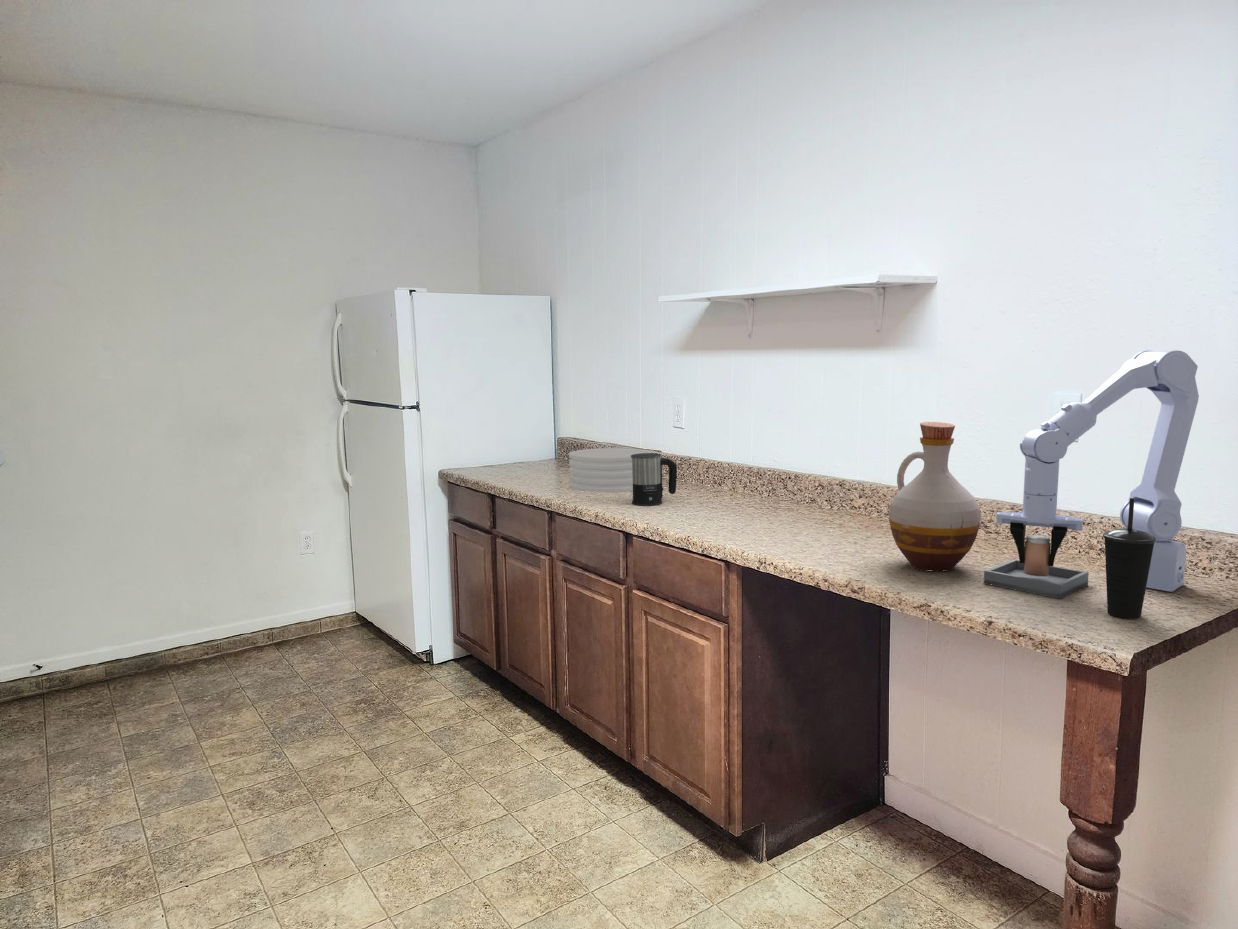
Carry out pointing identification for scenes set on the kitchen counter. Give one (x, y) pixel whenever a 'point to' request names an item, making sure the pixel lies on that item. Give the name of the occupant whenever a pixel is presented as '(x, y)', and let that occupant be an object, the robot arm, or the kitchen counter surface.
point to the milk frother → (651, 478)
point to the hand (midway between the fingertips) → (1036, 563)
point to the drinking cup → (1127, 568)
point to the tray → (1037, 579)
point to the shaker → (1036, 555)
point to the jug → (933, 506)
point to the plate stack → (602, 469)
